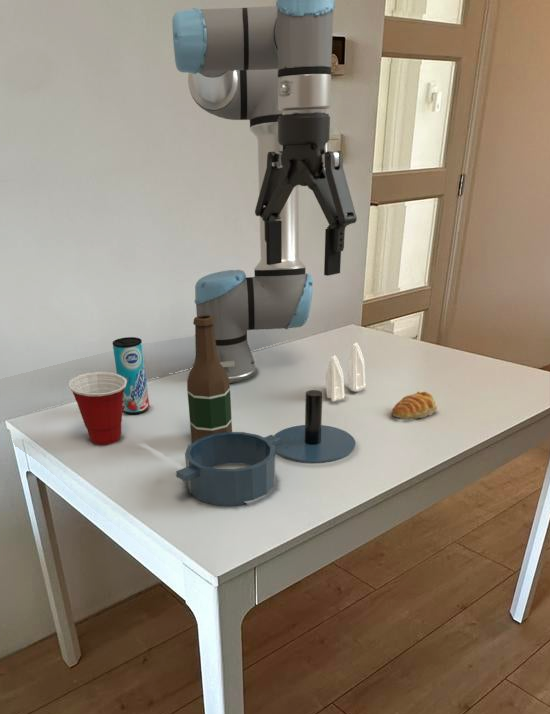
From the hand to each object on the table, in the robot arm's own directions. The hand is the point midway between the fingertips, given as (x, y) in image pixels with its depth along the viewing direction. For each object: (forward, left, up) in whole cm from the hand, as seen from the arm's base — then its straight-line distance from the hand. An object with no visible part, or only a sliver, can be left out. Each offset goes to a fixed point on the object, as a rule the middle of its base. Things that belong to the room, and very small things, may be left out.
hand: (301, 268), depth 101 cm
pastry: (+5, +28, -32) cm, 43 cm away
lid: (+2, +2, -31) cm, 31 cm away
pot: (+3, -18, -32) cm, 37 cm away
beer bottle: (-12, -11, -32) cm, 36 cm away
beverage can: (-37, -13, -32) cm, 51 cm away
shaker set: (-12, +26, -32) cm, 43 cm away
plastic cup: (-28, -25, -32) cm, 50 cm away
